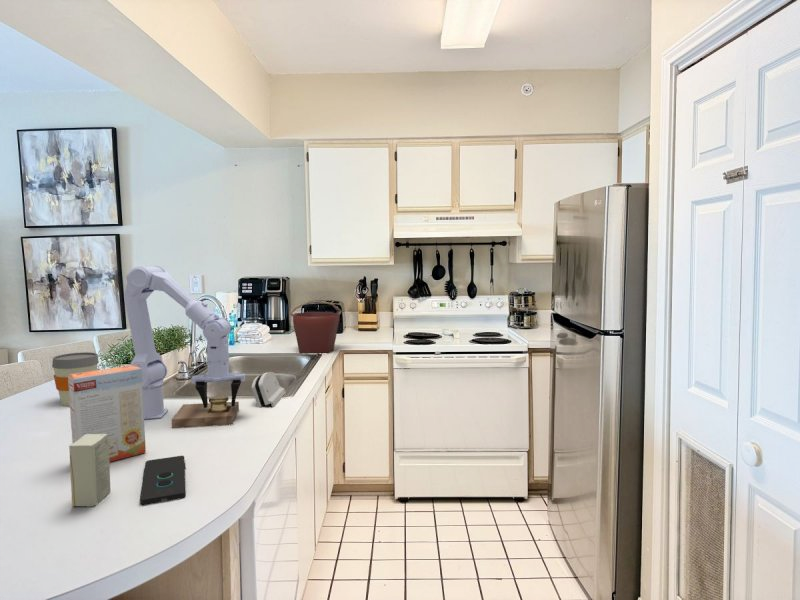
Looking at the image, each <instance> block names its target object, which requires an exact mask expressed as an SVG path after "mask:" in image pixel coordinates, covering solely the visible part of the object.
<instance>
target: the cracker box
mask: <svg viewBox="0 0 800 600" xmlns="http://www.w3.org/2000/svg"><path fill="white" fill-rule="evenodd" d="M68 386H69V401H70V406H69V412H70V427H71V440H72V441H71V442H72V443H74V442H75V441H77V440H78V439H79V438H81V437H82V436H84V435H85V434H108V443H109V463H111V462H115V461H119V460H123V459H127V458H130V457H134V456H138V455H143V454H146V450H147V449H146V447H147V446H146V430H145V419H144V408H143V389H142V370H141V368H139V367H137V366H134V365H125V366H119V367H112V368H111V367H110V368H104V369H97V370H96V371H89V372H82V373H76V374H69V375H68ZM72 443H71V444H72Z"/></svg>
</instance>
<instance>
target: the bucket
mask: <svg viewBox="0 0 800 600" xmlns="http://www.w3.org/2000/svg"><path fill="white" fill-rule="evenodd" d="M314 303H315V304H316V303H317V304H318V303H320V304H326V305H330V306H332V307H333V308H334V309H335V311H336V313H335V312H332V311H307V312H305V311H304V312H296V313H294V312H295V311H296V310H297V309H299V308H301V307H303V306H306V305H308V304H314ZM342 312H343V310H342V309H340V308H339V307H337V306H336V305H335V304H334V303H332V302H330V301H329V302H327V301H321V300H312V301H307V302H304V303H301V304H299V305H298V306H295V307H294V308H293V310H291V311H290V316H291V317H292V324H293V327H294V328H293V329H294V333H295V338H296V343H297V348H298V352H299V354H302V353H327V354H329V352H330V353H331V352H334V351H335V350H334V349H335V345H336V344H335V343H336V339H337V335H338V329H339V322H340V315H341V314H342ZM293 313H294V314H293Z"/></svg>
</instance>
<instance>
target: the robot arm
mask: <svg viewBox="0 0 800 600" xmlns="http://www.w3.org/2000/svg"><path fill="white" fill-rule="evenodd" d="M125 280H126V286H125V290H124V294H123V298H124V302H125V303H124V305H125V308H126V314H127V319H128V324H129V330H130V334H131V340H132V344H133V351H134V357H133V358H132V360H131V362H130V364H129V366H131V365H134V366H137V367H139V368H141V370H142V389H143V408H144V420H149V419H150V420H151V419H152V420H153V419H161V418H163V416H164V415H165V414H166V413H167V412H168V411H169V408H165V407H164V385H163V384H164V379H165V378H166V377H167V375H168V368H167V365H166V364H165V363H164V361H163V357H162V355H161V354H160V353H158V352H157V351H156V345H155V340H154V334H153V330H152V325H151V324H152V322H151V319H150V314H149V308H148V303H147V299H148V298H149V297H150V296H151V294H152V293H154V292H155V291H158V292H163V293H165V294H166V295H168V297H170V298H171V299H172V300H174V301H175V302H176V303H177V304H179V305H180V306H181V307H183V308H184V310H185V315H186V317H188V318H189V320H191V321H192V322H193V323H194V324H196V325H197V326H198V327H199V328H200V329H201V330H202V334H203V336H204V338H205V340H206V346H207V348H206V349H207V373H206V374H200V375H199V374H198V375H197V374H196V375H192V376H191V384H193V385H194V384H195V385H194V387H195V390H196V391H197V393H198V394H199V397H200V399H201V401H202V402H201V403H203V406H204V408H207V406H208V403H209V399H208V383H225V382H226V383H227V382H228V383H229V382H230V383H231V384H230V389H231V401H230V402H231V404H232V407H233V406H235V402H236V400H237V394H238V392H239V389H240V386H241V383H242V382H245V381H246V373H236V372H235V373H233V372H231V373H230V366H229V365H230V363H229V362H230V360H229V358H230V356H229V354H230V353H229V335H230V334H231V331H232V325H231V323H230V322H229V320H228V318H225V317H220V315H219V314H218V313H215V312H214V311H213V310H212V309H211V307H209V306H208V304H209V303H207V302H206V301H202V300H194V299H193V297H192V296H191V295H190V294H189V293H187V292H186V290H185V289H184V288H183V287H182V286H180V284H179V283H178V282H177V281H176V280H175V279H174V278H173V276H172V275H171V274H170V273H169V272H167V271H166V270H165V269H164V268H163V267H162V266H159V265H154V266H135V267H133V268H131V270H130V271H129V272H128V273H127V274H126V275H125Z"/></svg>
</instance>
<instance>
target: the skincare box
mask: <svg viewBox="0 0 800 600" xmlns="http://www.w3.org/2000/svg"><path fill="white" fill-rule="evenodd" d="M68 447H69V469H70V470H69V471H70V485H71V486H70V489H71V490H70V491H71V506H87V507H95V506H94V505H96V504H97V503H98V504H99V503H100V502H102V501H103V500H104V498H106V497H107V496H108V494H110V492H111V491H112V490H111V472H110V467H111V465H110V462H109V443H108V434H85V435H84V436H82V437H81V438H79V439H78V440H77V441H75V442H74V443H71V444H69V446H68ZM98 504H97V505H98ZM97 505H96V506H97Z"/></svg>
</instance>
